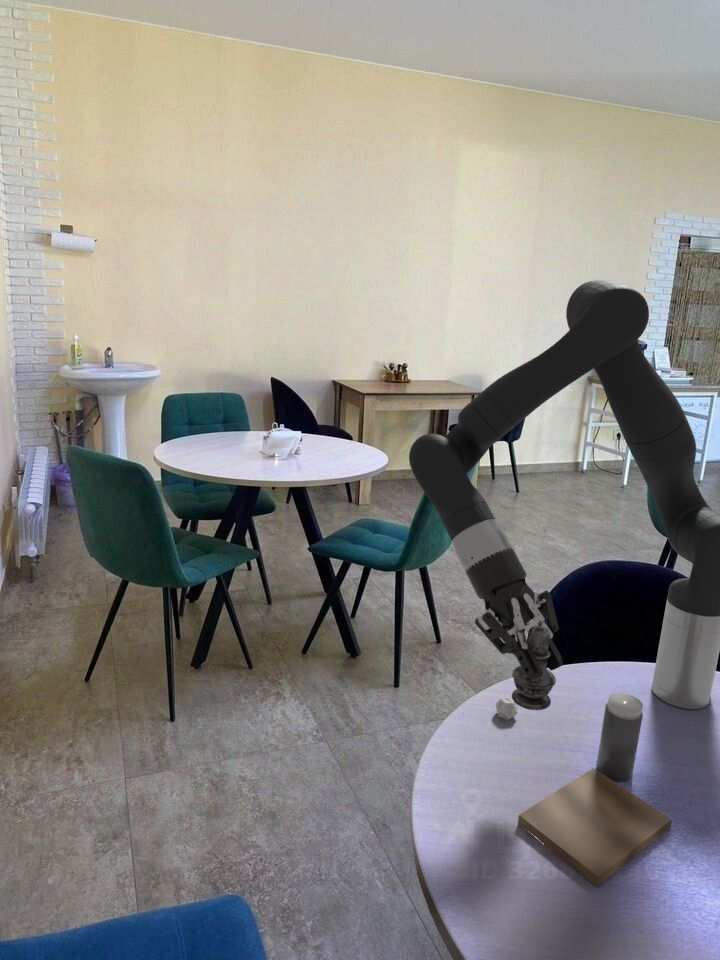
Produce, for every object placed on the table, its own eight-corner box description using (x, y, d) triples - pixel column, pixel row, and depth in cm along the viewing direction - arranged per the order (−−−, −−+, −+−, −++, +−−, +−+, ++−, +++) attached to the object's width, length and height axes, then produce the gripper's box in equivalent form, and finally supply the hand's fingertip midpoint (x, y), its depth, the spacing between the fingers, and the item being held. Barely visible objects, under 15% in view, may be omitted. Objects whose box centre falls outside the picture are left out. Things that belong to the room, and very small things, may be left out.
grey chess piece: (554, 714, 95) (564, 634, 92) (509, 708, 96) (518, 628, 93) (551, 690, 100) (561, 613, 97) (509, 684, 102) (518, 608, 98)
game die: (507, 725, 113) (509, 709, 112) (490, 714, 116) (491, 698, 115) (522, 717, 115) (524, 701, 114) (504, 706, 118) (506, 690, 117)
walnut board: (591, 776, 102) (593, 767, 101) (670, 828, 93) (672, 819, 92) (517, 824, 92) (518, 814, 92) (596, 887, 83) (598, 876, 83)
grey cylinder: (609, 754, 107) (620, 688, 104) (639, 773, 103) (651, 704, 100) (589, 767, 104) (599, 699, 101) (619, 786, 100) (631, 716, 97)
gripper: (467, 558, 94) (530, 681, 88) (537, 537, 102) (598, 648, 97) (437, 580, 100) (494, 697, 94) (505, 559, 108) (562, 665, 102)
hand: (547, 672), depth 95 cm, fingers closed on grey chess piece, 3 cm apart
